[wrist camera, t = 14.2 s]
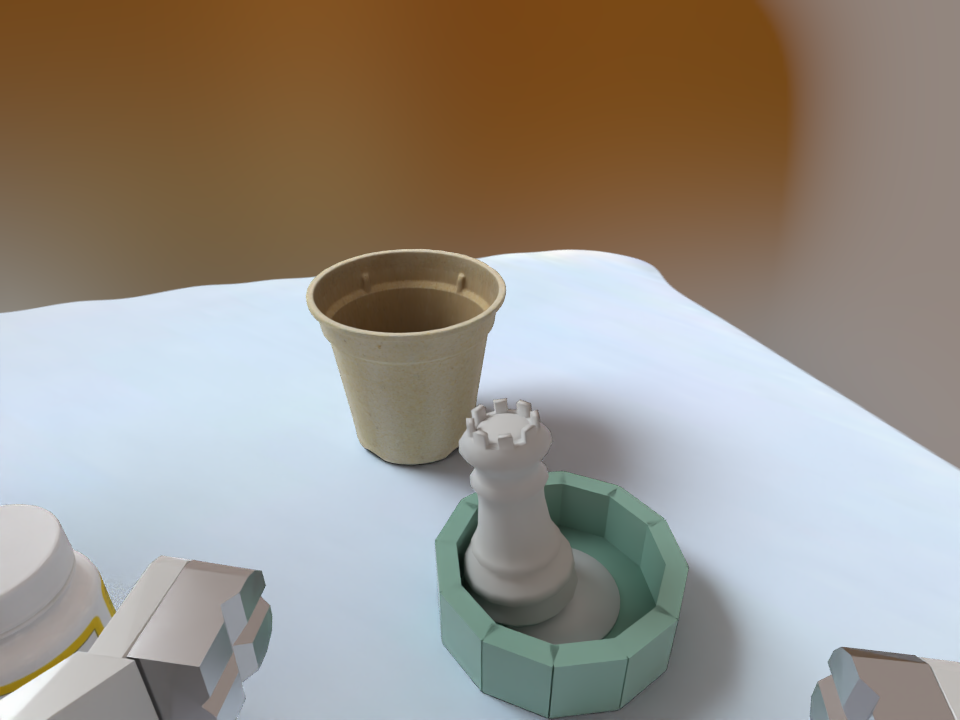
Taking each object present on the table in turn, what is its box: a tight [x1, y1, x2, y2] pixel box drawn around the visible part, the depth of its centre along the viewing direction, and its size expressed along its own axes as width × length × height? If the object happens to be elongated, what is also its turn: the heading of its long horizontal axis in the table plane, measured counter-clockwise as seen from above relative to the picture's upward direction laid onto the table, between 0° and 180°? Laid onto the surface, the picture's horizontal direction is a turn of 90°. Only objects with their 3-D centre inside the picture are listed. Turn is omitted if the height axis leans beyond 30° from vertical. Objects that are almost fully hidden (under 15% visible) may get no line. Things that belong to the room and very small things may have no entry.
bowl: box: [435, 471, 689, 718], centre depth 26 cm, size 9×9×3 cm
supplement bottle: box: [0, 504, 116, 700], centre depth 20 cm, size 5×5×8 cm
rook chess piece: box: [459, 398, 578, 627], centre depth 25 cm, size 4×4×8 cm
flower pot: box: [306, 249, 506, 464], centre depth 34 cm, size 9×9×9 cm
